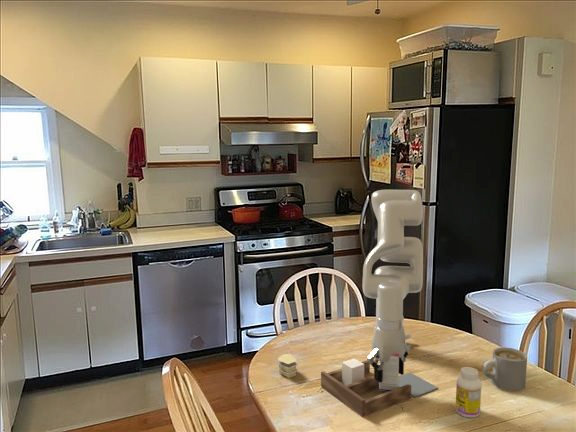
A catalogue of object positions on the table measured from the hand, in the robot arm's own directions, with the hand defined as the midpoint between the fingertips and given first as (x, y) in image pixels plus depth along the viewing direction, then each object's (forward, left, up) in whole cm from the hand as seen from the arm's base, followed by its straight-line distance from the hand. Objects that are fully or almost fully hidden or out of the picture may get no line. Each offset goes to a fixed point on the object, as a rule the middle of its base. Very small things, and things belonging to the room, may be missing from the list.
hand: (388, 376), depth 149 cm
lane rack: (+5, -5, -6) cm, 9 cm away
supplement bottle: (-12, +20, -6) cm, 24 cm away
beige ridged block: (+20, -29, -6) cm, 35 cm away
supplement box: (0, 0, -4) cm, 4 cm away
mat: (-10, 0, -6) cm, 11 cm away
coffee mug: (-35, +15, -6) cm, 38 cm away
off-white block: (+7, -9, -6) cm, 13 cm away
